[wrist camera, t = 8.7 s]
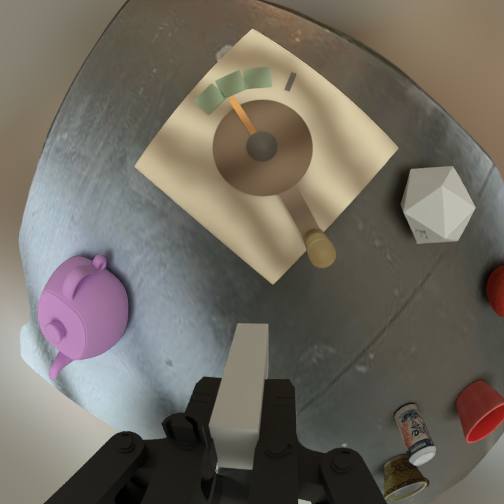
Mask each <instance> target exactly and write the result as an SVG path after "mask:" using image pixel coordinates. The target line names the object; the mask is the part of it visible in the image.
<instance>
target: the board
mask: <svg viewBox="0 0 504 504" xmlns="http://www.w3.org/2000/svg"><path fill="white" fill-rule="evenodd" d="M232 97H235V98H236V100H237V101H238V103H239V104H240V105H241V104H243V103H246V102H248V101H253V100H272V101H277V102H280V103H282V104H285V105H287V106H288V107H290V108H292V109H293V110H294V111H296V112H297V113H298V114H299V115H300V116H301V117H302V119H303V120H304V121H305V123H306V125H307V126H308V128H309V131H310V134H311V137H312V143H313V154H312V159H311V162H310V165H309V168H308V170H307V172H306V173H305V175H304V176H303V177H302V179H301V180H300V181H299V182H298V183H297V184H296V186H297V187H298V189H299V191H300V193H301V195H302V196H303V198H304V200H305V202H306V204H307V205H308V207H309V209H310V211H311V213H312V215H313V217H314V218H315V220H316V222H317V224H318V226H319V228H320V229H322V231H323V232H324V231H325V230H326V229H327V228H328V227H329V226H330V225H331V224H332V222H333V221H334V220H335V219H336V218H337V217H338V216H339V215H340V214H341V213H342V212H343V211H344V209H345V208H346V207H347V206H348V205H349V204H350V203H351V202H352V201H353V199H354V198H355V197H356V196H357V195H358V194H359V193H360V192H361V191H362V189H363V188H364V187H365V186H366V185H367V184H368V183H369V182H370V180H371V179H372V178H373V177H374V176H375V175H376V174H377V173H378V171H379V170H380V169H381V168H382V167H383V166H384V165H385V163H386V162H387V161H388V160H389V159H390V158H391V156H392V155H393V154H394V153H395V152H396V151H397V149H398V147H397V146H396V145H395V143H394V142H393V141H392V140H391V139H390V138H389V137H388V136H387V135H386V134H385V133H384V132H383V131H382V130H381V129H380V128H379V127H378V126H377V125H376V124H375V123H374V122H373V121H372V120H371V119H370V118H369V117H368V116H367V115H366V114H365V113H364V112H363V111H362V110H361V109H360V108H358V107H357V106H356V105H355V104H354V103H353V102H352V101H351V100H350V99H348V98H347V97H346V96H345V95H344V94H343V93H342V92H340V91H339V90H338V89H337V88H336V87H335V86H333V85H332V84H331V83H330V82H328V81H327V80H326V79H325V78H323V77H322V76H321V75H320V74H318V73H317V72H316V71H315V70H313V69H312V68H311V67H309V66H308V65H307V64H305V63H304V62H302V61H301V60H300V59H298V58H297V57H296V56H294V55H293V54H291V53H290V52H288V51H287V50H285V49H284V48H282V47H281V46H279V45H278V44H276V43H275V42H273V41H272V40H270V39H269V38H267V37H265V36H264V35H262V34H261V33H259V32H257V31H256V30H254V29H252V30H250V31H249V32H248V33H247V34H246V35H245V36H244V37H243V38H242V39H241V40H240V41H239V42H238V43H236V44H235V45H234V46H233V47H232V48H231V49H230V50H229V51H228V52H227V53H226V54H225V55H224V56H223V57H222V58H221V59H220V60H219V61H218V62H217V64H216V65H215V66H214V67H213V68H212V69H211V70H210V71H209V72H208V73H207V74H206V75H205V76H204V77H203V79H202V80H201V81H200V82H199V83H198V84H197V85H196V86H195V88H194V89H193V90H192V91H191V92H190V93H189V95H188V96H187V97H186V98H185V99H184V100H183V102H182V103H181V104H180V105H179V107H178V108H177V109H176V110H175V111H174V113H173V114H172V115H171V117H170V118H169V119H168V120H167V122H166V123H165V124H164V126H163V127H162V128H161V129H160V131H159V132H158V134H157V135H156V136H155V138H154V139H153V140H152V142H151V143H150V144H149V146H148V147H147V149H146V150H145V152H144V153H143V154H142V156H141V157H140V159H139V160H138V162H137V163H136V165H135V166H134V167H136V168H137V169H138V170H139V171H140V172H141V173H143V174H144V175H145V176H146V177H147V178H148V179H149V180H151V181H152V182H153V183H154V184H155V185H156V186H157V187H159V188H160V189H161V190H162V191H163V192H164V193H166V194H167V195H168V196H169V197H170V198H171V199H173V200H174V201H175V202H176V203H177V204H178V205H179V206H181V207H182V208H183V209H184V210H185V211H186V212H188V213H189V214H190V215H191V216H192V217H193V218H195V219H196V220H197V221H198V222H199V223H200V224H202V225H203V226H204V227H205V228H206V229H207V230H209V231H210V232H211V233H212V234H213V235H215V236H216V237H217V238H218V239H219V240H220V241H222V242H223V243H224V244H225V245H226V246H227V247H229V248H230V249H231V250H232V251H233V252H235V253H236V254H237V255H238V256H239V257H240V258H242V259H243V260H244V261H245V262H246V263H248V264H249V265H250V266H251V267H252V268H253V269H255V270H256V271H257V272H258V273H259V274H261V275H262V276H263V277H264V278H265V279H267V280H268V281H269V282H270V283H271V284H274V283H275V282H276V281H277V280H278V279H279V278H280V277H281V276H282V275H283V274H284V273H285V272H286V271H287V270H288V269H289V268H290V267H291V266H292V265H293V264H294V263H295V262H296V261H297V260H298V259H299V258H300V257H301V255H302V254H303V253H304V252H305V251H306V247H305V244H304V241H303V236H302V235H301V233H300V231H299V229H298V227H297V226H296V224H295V222H294V220H293V218H292V217H291V215H290V213H289V211H288V209H287V208H286V206H285V204H284V202H283V201H282V199H281V197H280V195H279V194H276V195H271V196H254V195H249V194H246V193H243V192H241V191H239V190H237V189H236V188H234V187H232V186H231V185H230V184H229V183H228V182H227V181H226V180H225V179H224V178H223V177H222V175H221V174H220V173H219V171H218V169H217V167H216V164H215V161H214V157H213V149H212V148H213V139H214V134H215V132H216V129H217V127H218V125H219V123H220V122H221V120H222V119H223V118H224V117H225V115H226V114H227V113H229V112H230V111H231V110H232V109H234V108H233V106H232V105H231V103H230V102H229V100H228V99H230V98H232Z"/></svg>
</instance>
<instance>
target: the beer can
mask: <svg viewBox="0 0 504 504" xmlns="http://www.w3.org/2000/svg"><path fill="white" fill-rule="evenodd" d="M394 418H395V421H396V423H397V426H398V429H399V432H400V435H401V438H402V440H403V443H404V446H405V449H406V452H407V455H408V458H409V462H410V463H412V464H413V465H414V466H418V465H422V464H424V463H426V462H428V461H429V460H431V459H432V458H433V457H434V455H435V451H436V447H435V446H434V444H433V441H432V439H431V437H430V434H429V432H428V430H427V427H426V425H425V423H424V421H423V418H422V416H421V414H420V412H419V410H418V406H417V405H415V404H409V405H406V406H404V407H402V408H401V409H399V410H398V411H397V412H396V414H395V417H394Z"/></svg>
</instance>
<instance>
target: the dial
mask: <svg viewBox="0 0 504 504" xmlns="http://www.w3.org/2000/svg"><path fill="white" fill-rule="evenodd" d="M228 100H229V102H230V103H231V105H232V106H233V108H234V109H232V110H231V111H230V112H229V113H227V114H226V115H225V117H224V118H223V119H222V120H221V122H220V123H219V125H218V127H217V129H216V132H215V134H214V139H213V148H212V149H213V157H214V161H215V164H216V167H217V169H218V171H219V173H220V174H221V175H222V177H223V178H224V179H225V180H226V181H227V182H228V183H229V184H230V185H231V186H232V187H234V188H236V189H237V190H239V191H241V192H243V193H246V194H249V195H254V196H271V195H276V194H279V195H280V197H281V199H282V201H283V202H284V204H285V206H286V208H287V209H288V211H289V213H290V215H291V217H292V218H293V220H294V222H295V224H296V226H297V227H298V229H299V231H300V233H301V235H302V236H303V241H304V244H305V247H306V250H307V253H308V256H309V259H310V261H311V263H312V264H313V265H314V266H316V267H319V268H325V267H328V266H330V265H331V264H332V263H333V262H334V260H335V258H336V250H335V248H334V246H333V245H332V243H331V242H330V241H329V239H328V238H327V236H326V235H325V234H324V232H323V231H322V229H320V228H319V226H318V224H317V222H316V220H315V218H314V217H313V215H312V213H311V211H310V209H309V207H308V205H307V204H306V202H305V200H304V198H303V196H302V195H301V193H300V191H299V189H298V187H297V186H296V184H297V183H298V182H299V181H300V180H301V179H302V177H303V176H304V175H305V173H306V172H307V170H308V168H309V165H310V162H311V159H312V154H313V143H312V137H311V134H310V131H309V128H308V126H307V125H306V123H305V121H304V120H303V119H302V117H301V116H300V115H299V114H298V113H297V112H296V111H294V110H293V109H292V108H290V107H288V106H287V105H285V104H282V103H280V102H277V101H272V100H253V101H248V102H246V103H243V104H241V105H240V104H239V103H238V101H237V100H236V98H235V97H232V98H230V99H228Z"/></svg>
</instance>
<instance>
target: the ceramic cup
mask: <svg viewBox="0 0 504 504" xmlns="http://www.w3.org/2000/svg"><path fill="white" fill-rule="evenodd" d="M428 485H429V480H428V479H427V478H425V477H423V475H422V474H421V472H420V471H419V470H418V468H417V467H416V466H414V465H413V464H412V463H410V462H409V458H408V455H407V454H404V455H398V456H396V457H394V458H392V459H390V460H388V461H387V462H386V463H385V464H384V499H385V500H386V502H396V501H400V500H403V499H406V498H408V497H411V496H413V495H415V494H416V493H418V492H420V491H421V490H422V489H423V488H426V487H427V486H428Z"/></svg>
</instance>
